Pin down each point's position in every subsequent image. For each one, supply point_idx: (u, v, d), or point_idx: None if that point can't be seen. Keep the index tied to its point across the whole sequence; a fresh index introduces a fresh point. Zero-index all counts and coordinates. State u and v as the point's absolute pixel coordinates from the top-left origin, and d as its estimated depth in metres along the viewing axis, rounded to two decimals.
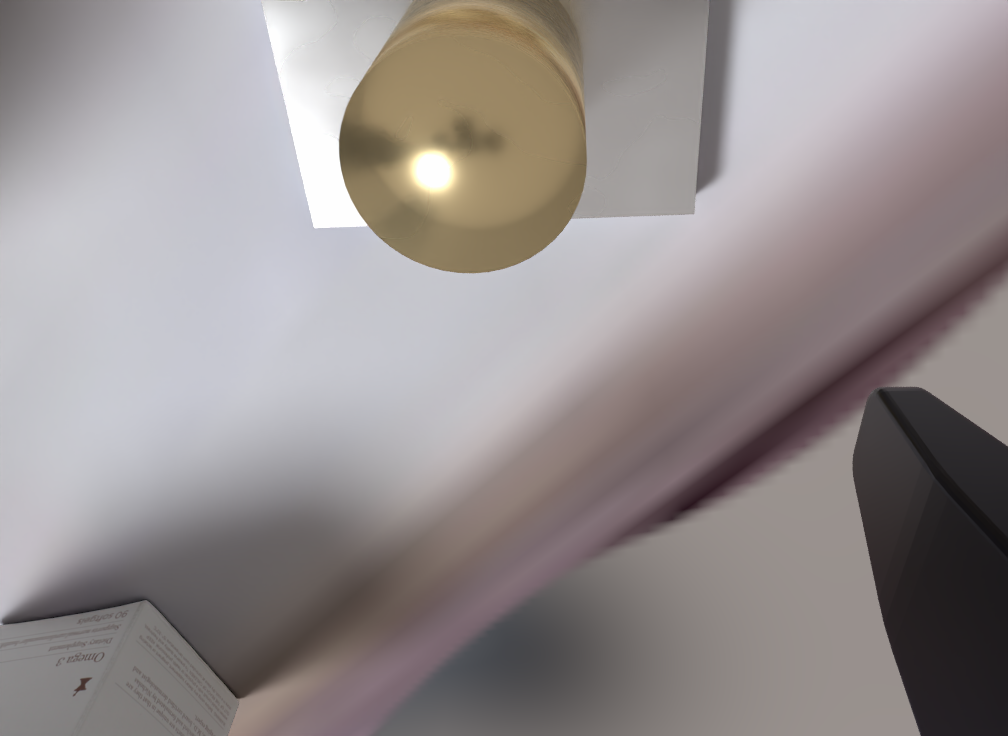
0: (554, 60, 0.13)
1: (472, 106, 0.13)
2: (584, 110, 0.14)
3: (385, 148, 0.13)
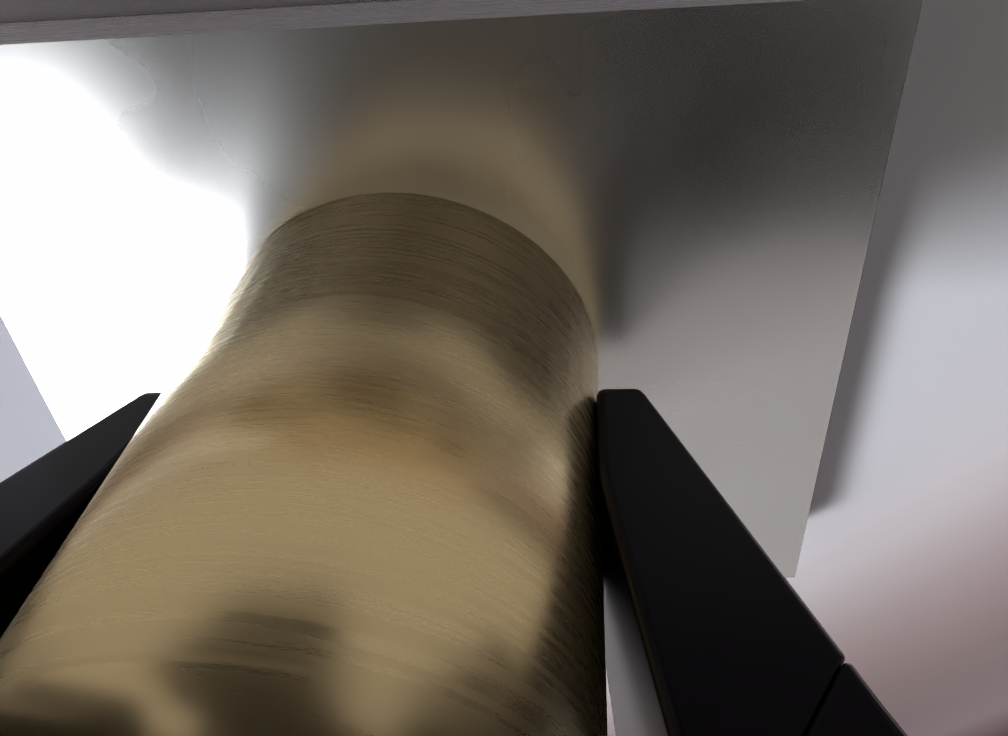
0: (523, 604, 0.05)
1: None
2: (602, 605, 0.06)
3: None
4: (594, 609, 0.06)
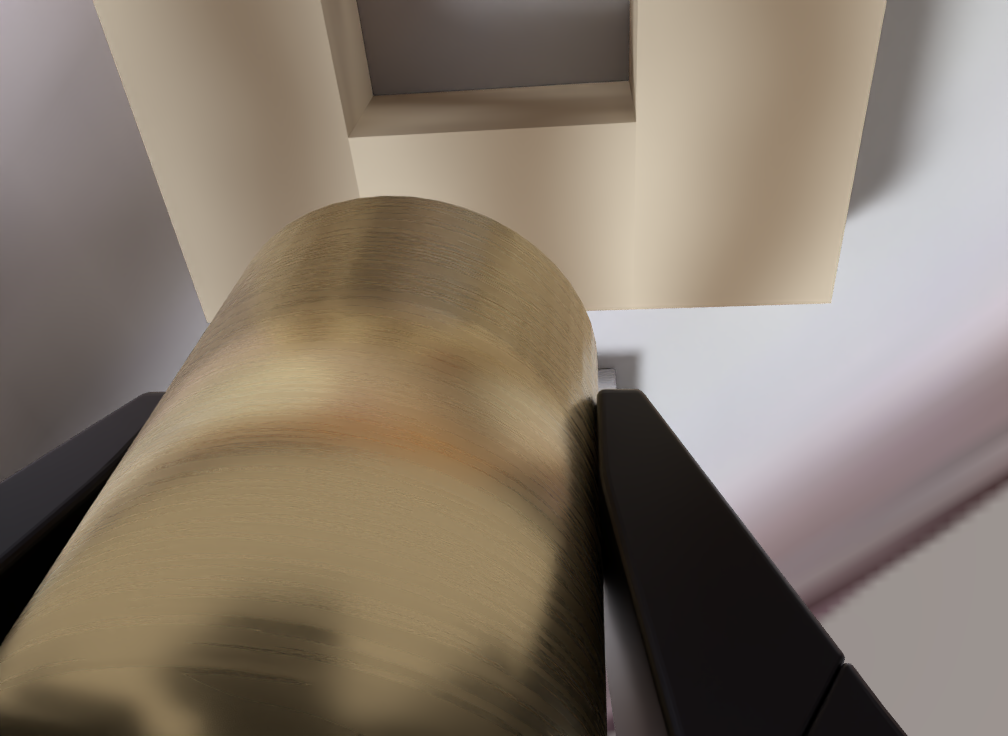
0: (523, 609, 0.05)
1: None
2: (602, 608, 0.06)
3: None
4: (594, 613, 0.06)
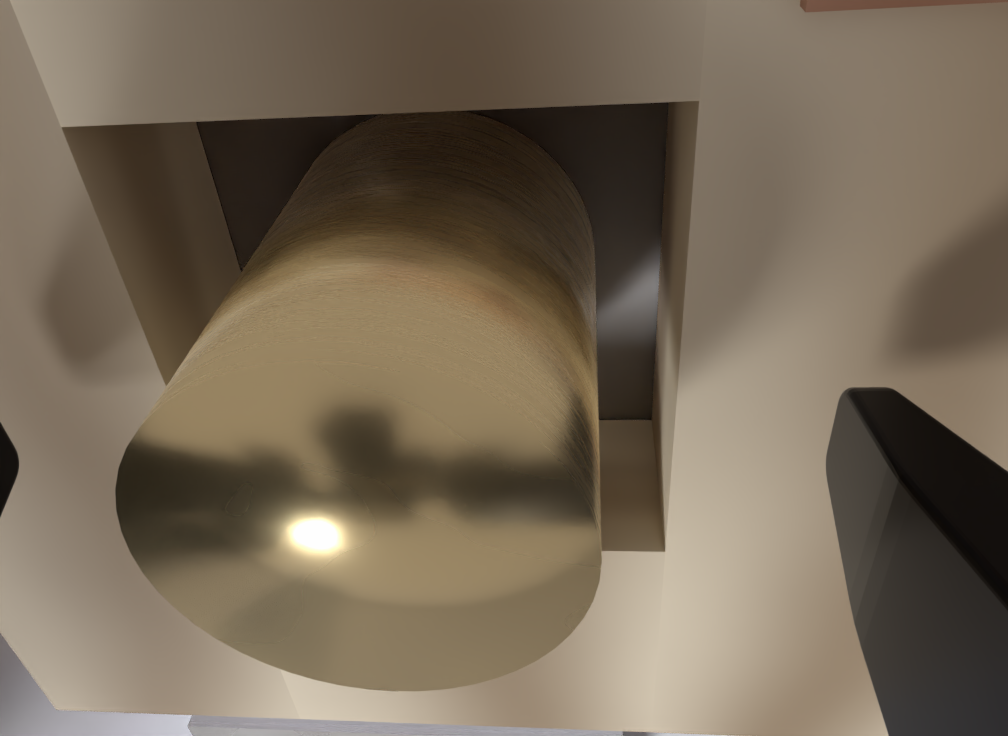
0: (539, 363, 0.07)
1: (371, 475, 0.06)
2: (597, 403, 0.08)
3: (208, 526, 0.07)
4: (590, 394, 0.07)
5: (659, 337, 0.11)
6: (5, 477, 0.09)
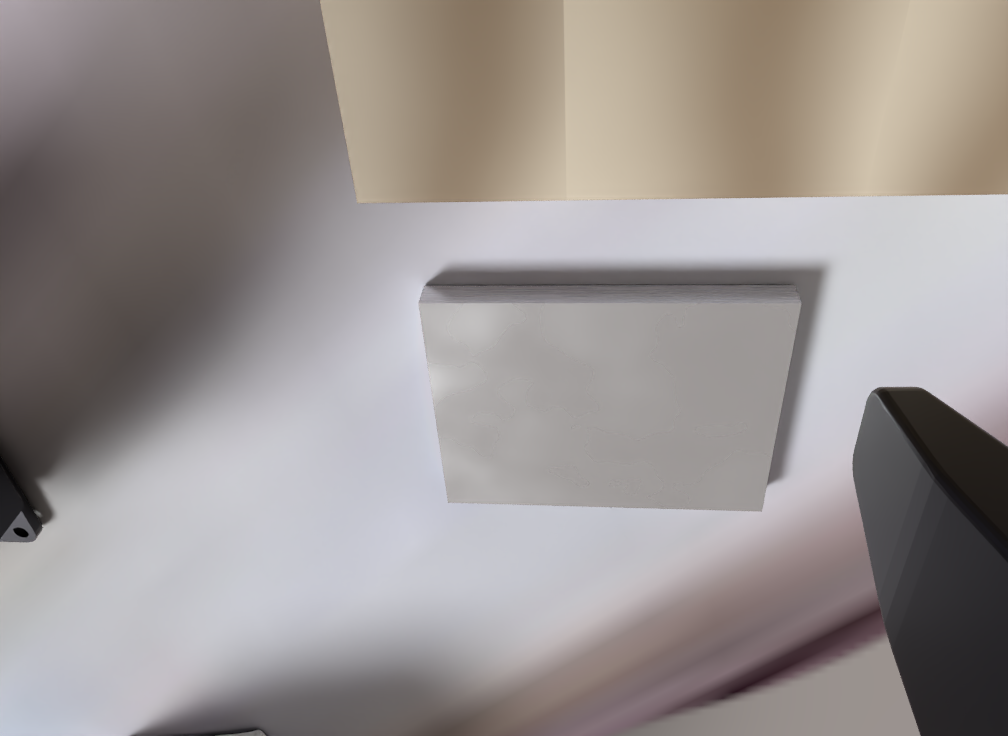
0: None
1: None
2: None
3: None
4: None
5: None
6: None
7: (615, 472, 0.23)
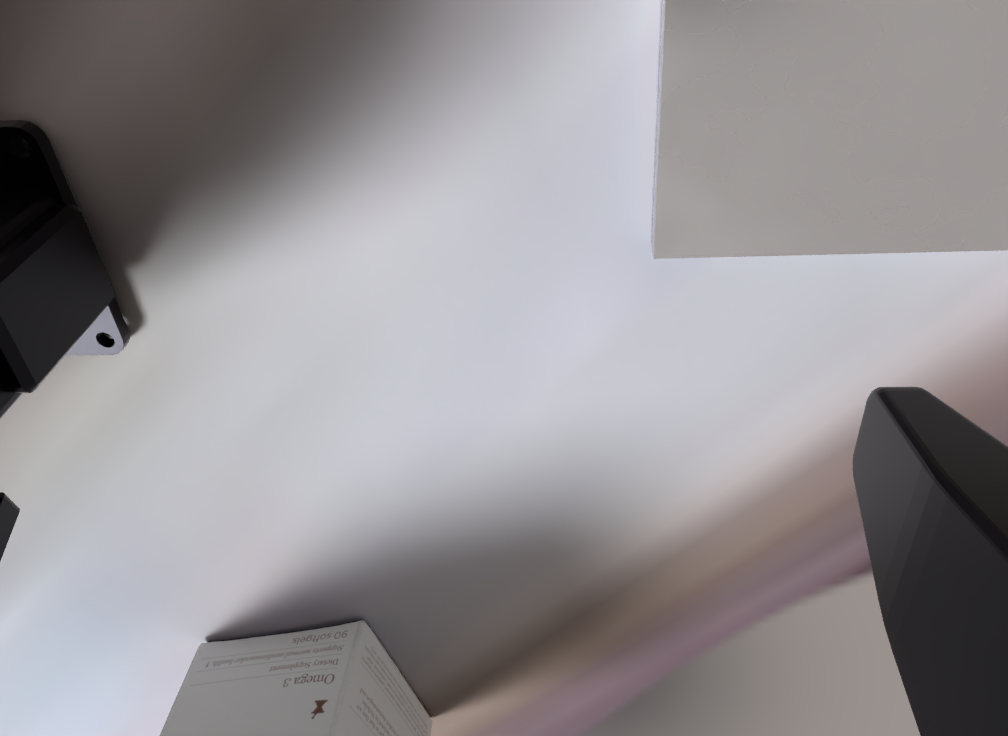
0: None
1: None
2: None
3: None
4: None
5: None
6: None
7: (878, 198, 0.18)
